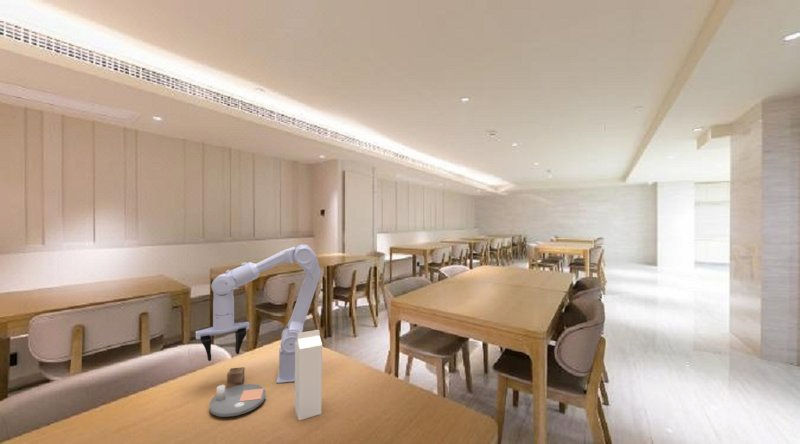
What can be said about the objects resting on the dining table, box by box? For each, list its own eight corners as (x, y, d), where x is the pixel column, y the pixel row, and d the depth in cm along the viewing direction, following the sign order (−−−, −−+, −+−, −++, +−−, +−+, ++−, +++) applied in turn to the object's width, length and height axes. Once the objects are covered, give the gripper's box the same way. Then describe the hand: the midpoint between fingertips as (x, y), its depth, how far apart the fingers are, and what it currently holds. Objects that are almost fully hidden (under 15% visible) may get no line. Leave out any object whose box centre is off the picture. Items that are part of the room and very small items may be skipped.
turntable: (268, 385, 97) (268, 370, 97) (261, 412, 83) (261, 394, 83) (218, 391, 93) (218, 375, 93) (201, 420, 79) (201, 402, 79)
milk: (321, 414, 84) (323, 333, 84) (298, 421, 81) (300, 337, 81) (315, 402, 89) (317, 326, 89) (293, 408, 86) (295, 329, 86)
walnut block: (244, 382, 100) (244, 367, 100) (241, 389, 96) (241, 373, 96) (230, 384, 99) (230, 368, 99) (227, 390, 95) (227, 374, 95)
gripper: (246, 306, 105) (245, 346, 105) (194, 314, 96) (194, 358, 96) (251, 311, 99) (251, 353, 99) (197, 320, 90) (197, 366, 90)
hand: (223, 356), depth 97 cm, fingers open, 7 cm apart
